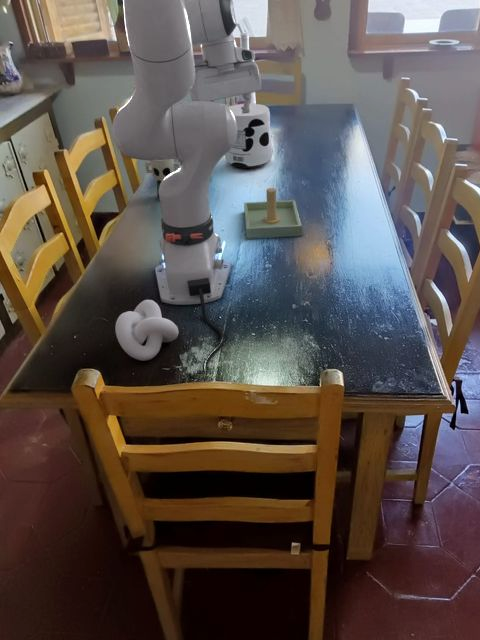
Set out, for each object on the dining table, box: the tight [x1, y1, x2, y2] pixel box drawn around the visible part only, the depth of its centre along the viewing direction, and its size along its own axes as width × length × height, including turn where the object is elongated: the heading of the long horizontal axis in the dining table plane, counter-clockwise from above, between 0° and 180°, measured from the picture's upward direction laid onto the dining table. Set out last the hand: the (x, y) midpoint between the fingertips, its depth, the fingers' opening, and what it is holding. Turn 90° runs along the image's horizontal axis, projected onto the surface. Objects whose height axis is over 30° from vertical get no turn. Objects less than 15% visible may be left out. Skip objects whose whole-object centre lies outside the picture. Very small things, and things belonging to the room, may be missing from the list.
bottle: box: [239, 32, 257, 104], centre depth 233 cm, size 8×8×30 cm
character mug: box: [144, 159, 181, 199], centre depth 162 cm, size 11×7×13 cm, turn 87°
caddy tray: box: [243, 187, 303, 240], centre depth 146 cm, size 17×15×10 cm
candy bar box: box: [225, 95, 245, 107], centre depth 217 cm, size 11×5×16 cm, turn 25°
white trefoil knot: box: [114, 299, 180, 362], centre depth 104 cm, size 11×12×9 cm
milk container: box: [224, 103, 274, 169], centre depth 182 cm, size 17×17×18 cm
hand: (231, 116), depth 140 cm, fingers open, 8 cm apart
